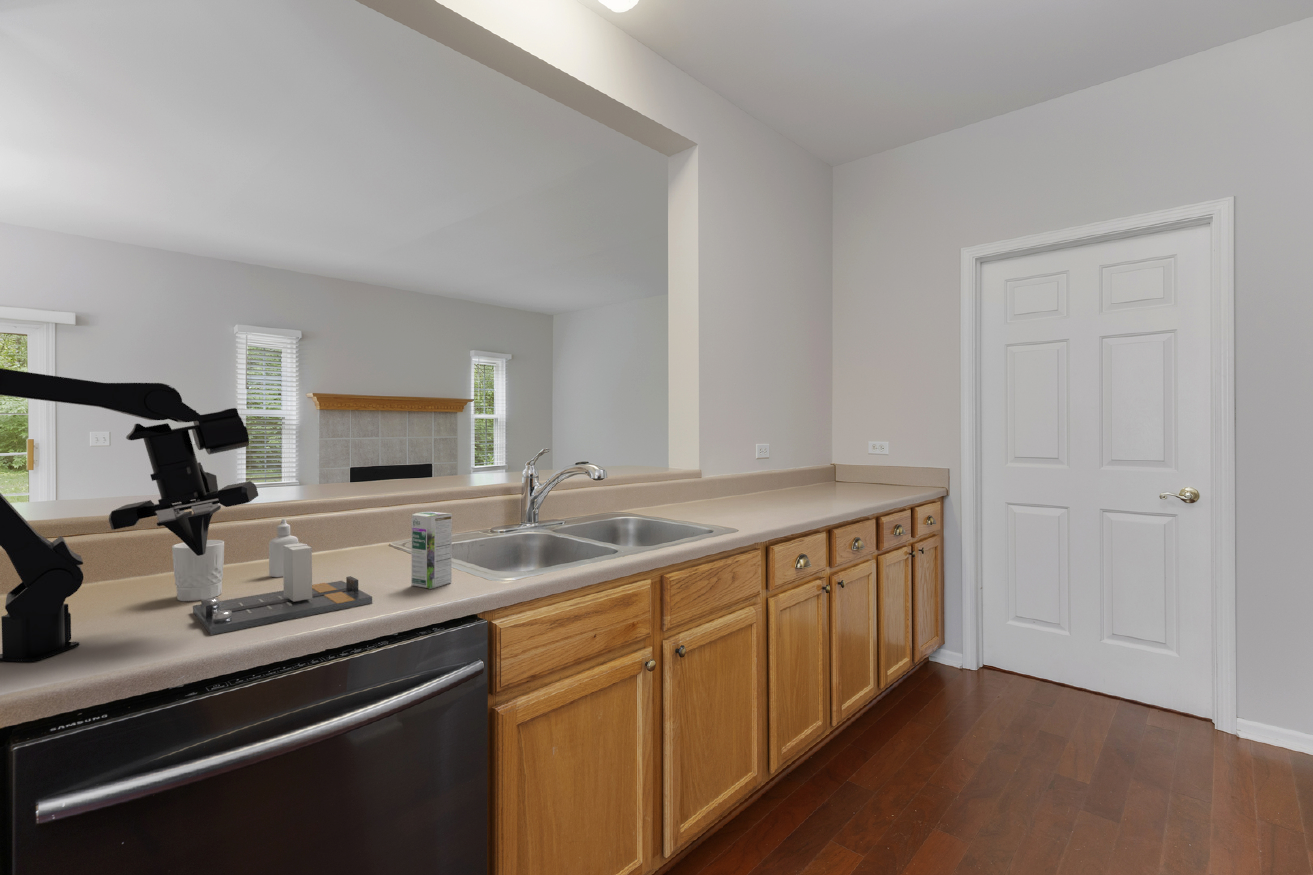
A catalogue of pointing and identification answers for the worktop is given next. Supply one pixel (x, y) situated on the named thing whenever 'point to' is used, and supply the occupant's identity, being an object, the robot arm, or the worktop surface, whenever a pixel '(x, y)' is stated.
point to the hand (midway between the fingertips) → (201, 554)
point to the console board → (277, 606)
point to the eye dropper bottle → (279, 548)
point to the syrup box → (431, 549)
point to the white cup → (198, 571)
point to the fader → (297, 571)
